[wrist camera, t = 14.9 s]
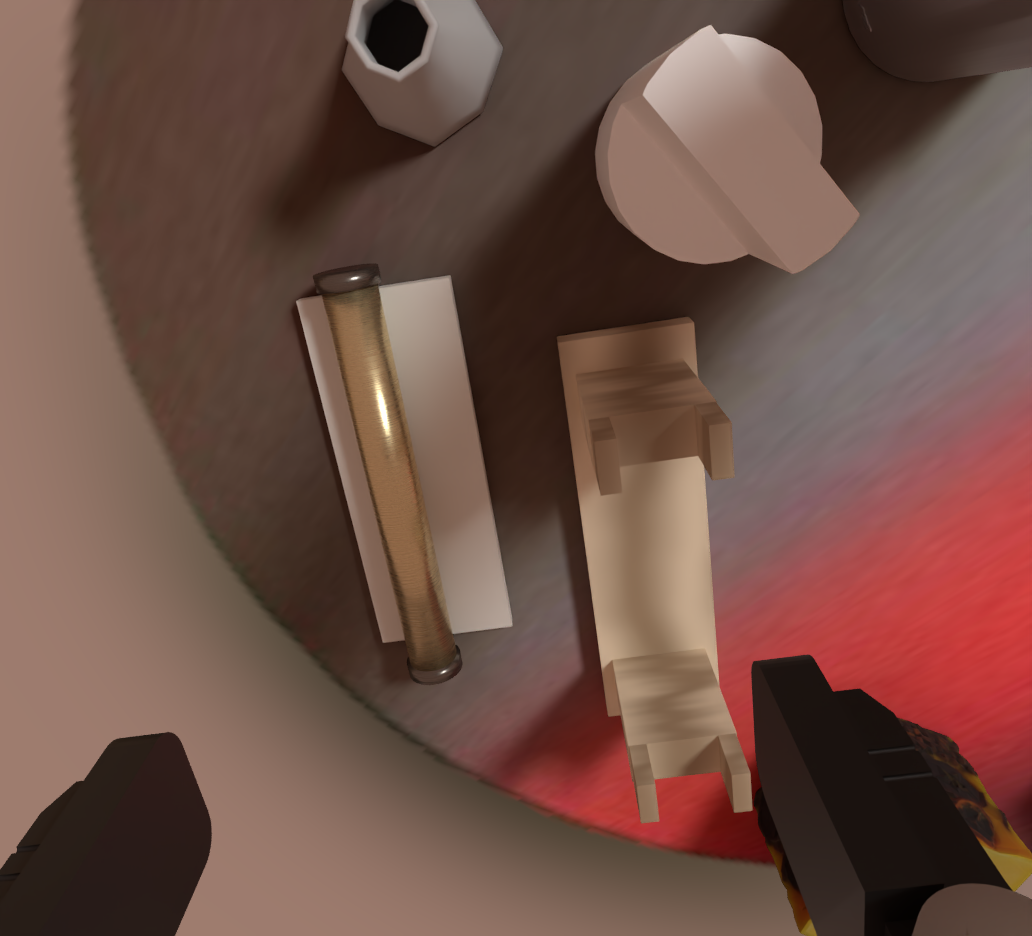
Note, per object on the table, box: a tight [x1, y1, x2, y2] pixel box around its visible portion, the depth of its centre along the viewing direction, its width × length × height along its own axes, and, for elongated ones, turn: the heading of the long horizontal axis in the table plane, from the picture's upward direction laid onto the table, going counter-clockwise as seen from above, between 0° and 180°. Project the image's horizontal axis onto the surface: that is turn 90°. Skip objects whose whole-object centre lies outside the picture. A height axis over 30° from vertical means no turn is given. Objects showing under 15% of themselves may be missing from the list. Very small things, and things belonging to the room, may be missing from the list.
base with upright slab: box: [595, 25, 860, 274], centre depth 33 cm, size 9×9×12 cm
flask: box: [342, 0, 503, 147], centre depth 33 cm, size 7×7×10 cm
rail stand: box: [557, 317, 752, 823], centre depth 41 cm, size 7×24×12 cm, turn 9°
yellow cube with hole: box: [754, 718, 1032, 936], centre depth 49 cm, size 10×10×10 cm
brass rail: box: [313, 264, 462, 685], centre depth 43 cm, size 24×3×3 cm
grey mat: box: [296, 275, 512, 643], centre depth 45 cm, size 8×21×1 cm, turn 9°
